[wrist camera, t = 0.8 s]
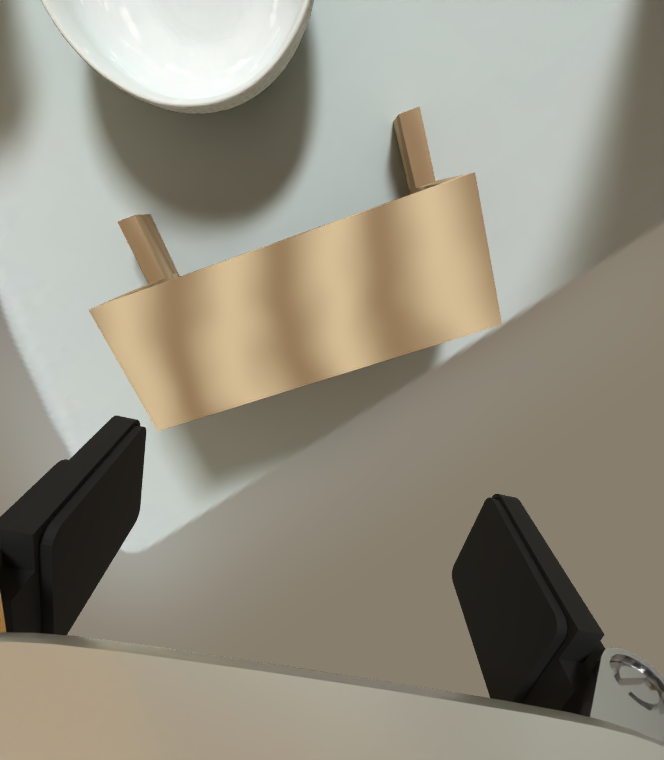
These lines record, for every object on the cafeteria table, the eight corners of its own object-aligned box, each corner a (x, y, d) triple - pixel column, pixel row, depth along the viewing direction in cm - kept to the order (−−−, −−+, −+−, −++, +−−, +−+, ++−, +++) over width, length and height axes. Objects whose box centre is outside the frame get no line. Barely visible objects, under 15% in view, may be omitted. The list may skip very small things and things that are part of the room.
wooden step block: (411, 115, 32) (456, 67, 21) (449, 288, 37) (501, 324, 26) (134, 220, 35) (41, 228, 24) (205, 367, 40) (157, 431, 29)
